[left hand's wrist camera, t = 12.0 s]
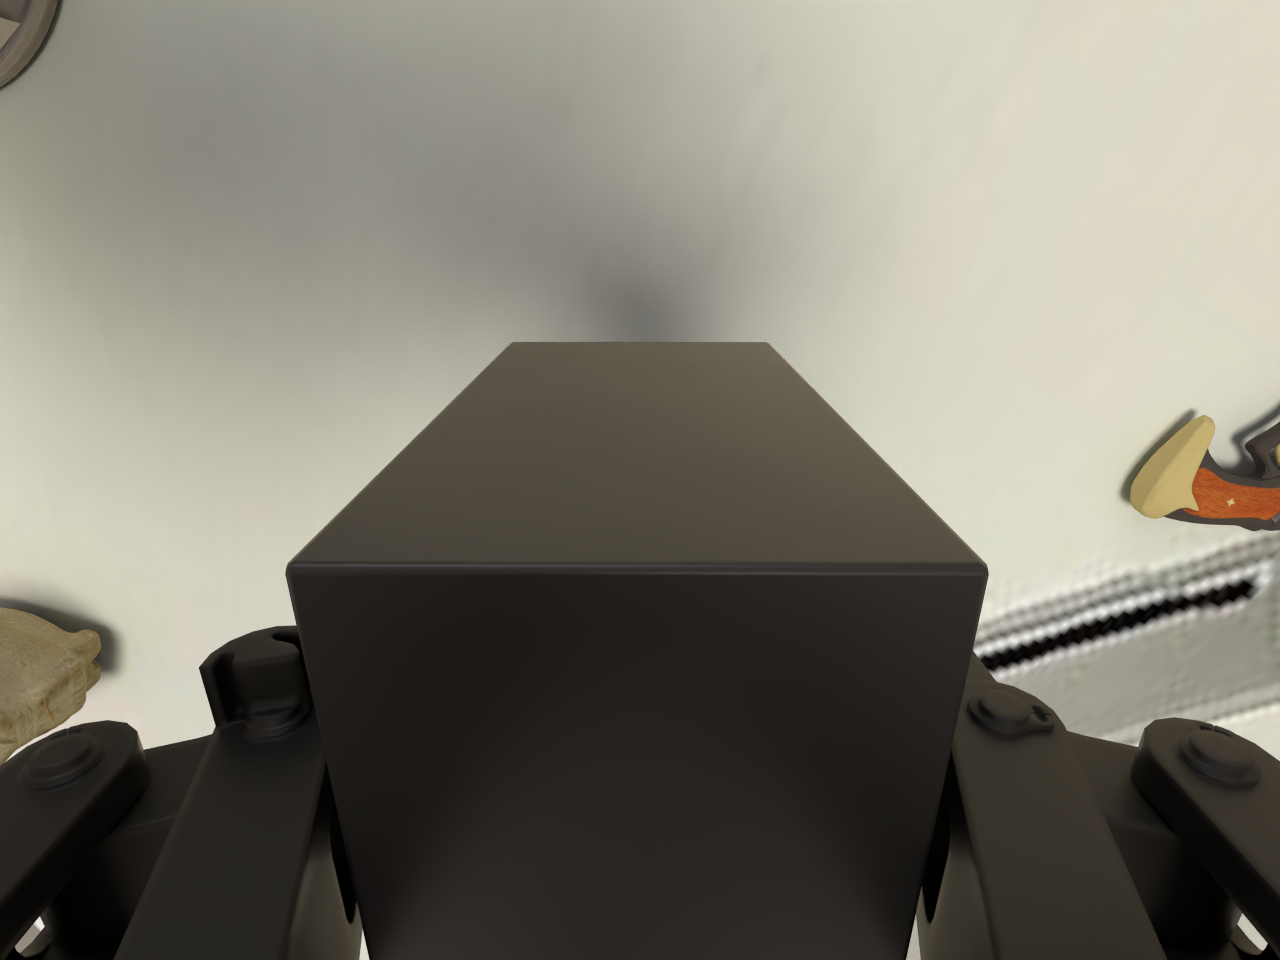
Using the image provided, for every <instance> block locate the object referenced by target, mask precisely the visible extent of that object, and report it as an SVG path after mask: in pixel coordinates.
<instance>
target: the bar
mask: <svg viewBox="0 0 1280 960" xmlns="http://www.w3.org/2000/svg"><path fill="white" fill-rule="evenodd" d="M988 576H989V574H988V568H987V565H986V563H985V562H984V561H983V560H982V559H981V558H980V557H979V556H978V555H977V554H976V553H975V552H974V551H973V550H972V549H971V548H970V547H969V546H968V545H967V544H966V543H965V542H964V541H963V540H962V539H961V538H960V537H959V536H958V535H957V534H956V533H955V532H954V531H953V530H952V529H951V528H950V527H949V526H948V525H947V524H946V523H945V522H944V521H943V520H942V519H941V518H940V517H939V516H938V515H937V514H936V513H935V512H934V511H933V510H932V509H931V508H930V507H929V506H928V505H927V504H926V503H925V501H924V500H923V499H922V498H921V497H920V496H919V495H918V494H917V493H916V492H915V491H914V490H913V489H912V488H911V487H910V486H909V485H908V484H907V483H906V482H905V481H904V480H903V479H902V478H901V477H900V476H899V475H898V474H897V473H896V472H895V471H894V470H893V469H892V468H891V467H890V466H889V465H888V464H887V463H886V462H885V461H884V460H883V459H882V458H881V457H880V456H879V455H878V454H877V453H876V452H875V451H874V450H873V449H872V448H871V447H870V446H869V445H868V444H867V443H866V442H865V441H864V440H863V439H862V438H861V437H860V436H859V435H858V434H857V433H856V432H855V431H854V430H853V428H852V427H851V426H850V425H849V424H848V423H847V422H846V421H845V420H844V419H843V418H842V417H841V416H840V415H839V414H838V413H837V412H836V411H835V410H834V409H833V408H832V407H831V406H830V405H829V404H828V403H827V402H826V401H825V400H824V399H823V398H822V397H821V396H820V395H819V394H818V393H817V392H816V391H815V390H814V389H813V388H812V387H811V386H810V385H809V384H808V383H807V382H806V381H805V380H804V379H803V378H802V377H801V376H800V375H799V374H798V373H797V372H796V371H795V370H794V369H793V368H792V367H791V366H790V365H789V364H788V363H787V362H786V361H785V360H784V359H783V358H782V357H781V355H780V354H779V353H778V352H777V351H776V350H775V349H774V348H773V347H772V346H771V345H770V344H769V343H766V342H513V343H511V344H510V345H509V346H508V347H507V348H506V349H505V350H504V351H503V352H502V353H501V354H500V355H499V356H498V357H497V358H496V359H495V360H493V361H492V362H491V363H490V364H489V365H488V366H487V367H486V368H485V369H484V370H483V371H482V372H481V373H480V374H479V375H478V376H477V377H476V378H475V379H474V380H473V381H472V382H471V383H470V384H469V385H468V386H467V387H466V388H465V389H464V390H463V391H462V392H461V393H460V394H459V395H458V396H457V397H456V398H455V399H454V400H453V401H452V402H451V403H450V404H449V405H448V406H447V407H446V408H445V409H444V410H443V411H442V412H441V413H440V414H439V415H438V416H437V417H436V418H435V419H434V420H433V421H432V422H431V423H430V424H429V425H428V426H427V427H426V428H425V429H424V430H423V431H422V432H421V433H419V434H418V435H417V436H416V437H415V438H414V439H413V440H412V441H411V442H410V443H409V444H408V445H407V446H406V447H405V448H404V449H403V450H402V451H401V452H400V453H399V454H398V455H397V456H396V457H395V458H394V459H393V460H392V461H391V462H390V463H389V464H388V465H387V466H386V467H385V468H384V469H383V470H382V471H381V472H380V473H379V474H378V475H377V476H376V477H375V478H374V479H373V480H372V481H371V482H370V483H369V484H368V485H367V486H366V487H365V488H364V489H363V490H362V491H361V492H360V493H359V494H358V495H357V496H356V497H355V498H354V499H353V500H352V501H351V502H350V503H349V504H348V505H346V506H345V507H344V508H343V509H342V510H341V511H340V512H339V513H338V514H337V515H336V516H335V517H334V518H333V519H332V520H331V521H330V522H329V523H328V524H327V525H326V526H325V527H324V528H323V529H322V530H321V531H320V532H319V533H318V534H317V535H316V536H315V537H314V538H313V539H312V540H311V541H310V542H309V543H308V544H307V545H306V546H305V547H304V548H303V549H302V550H301V551H300V552H299V553H298V554H297V555H296V556H295V557H294V558H293V559H292V560H291V561H290V562H289V563H288V564H287V568H286V579H287V583H288V588H289V593H290V597H291V602H292V606H293V611H294V615H295V620H296V625H297V629H298V634H299V638H300V643H301V648H302V652H303V657H304V661H305V666H306V670H307V675H308V680H309V684H310V689H311V693H312V698H313V703H314V707H315V712H316V716H317V721H318V726H319V730H320V735H321V739H322V744H323V748H324V753H325V758H326V762H327V767H328V771H329V776H330V781H331V785H332V790H333V794H334V799H335V804H336V808H337V813H338V817H339V822H340V826H341V831H342V836H343V840H344V845H345V849H346V854H347V859H348V863H349V868H350V872H351V877H352V882H353V886H354V891H355V895H356V900H357V904H358V909H359V914H360V918H361V923H362V927H363V932H364V937H365V941H366V946H367V950H368V955H369V959H370V960H906V957H907V952H908V948H909V943H910V938H911V934H912V929H913V924H914V920H915V915H916V910H917V906H918V901H919V896H920V892H921V887H922V882H923V878H924V873H925V868H926V864H927V859H928V855H929V850H930V845H931V841H932V836H933V831H934V827H935V822H936V817H937V813H938V808H939V803H940V799H941V794H942V789H943V785H944V780H945V775H946V771H947V766H948V762H949V757H950V752H951V748H952V743H953V738H954V734H955V729H956V724H957V720H958V715H959V710H960V706H961V701H962V696H963V692H964V687H965V683H966V678H967V673H968V669H969V664H970V659H971V655H972V650H973V645H974V641H975V636H976V631H977V627H978V622H979V617H980V613H981V608H982V603H983V599H984V594H985V590H986V585H987V580H988Z"/></svg>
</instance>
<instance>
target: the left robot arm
mask: <svg viewBox="0 0 1280 960" xmlns="http://www.w3.org/2000/svg"><path fill="white" fill-rule="evenodd" d="M57 2H58V0H0V87H1V86H3V85H4V84H6V83H7V82H8V81H10V80H11V79H12V78H13V77H15V76H16V75H17V74H18V73H19V72H20V71H21V70H22V69H23V68H24V67H25V66H26V65H27V64H28V62H29V61H30V60H31V59H32V57H33V56H34V54H35V53H36V51H37V50H38V49H39V47H40V45H41V43H42V41H43V40H44V38H45V36H46V34H47V32H48V29H49V27H50V24H51V22H52V19H53V17H54V13H55V10H56V6H57ZM199 670H200V673H201V677H202V680H203V684H204V687H205V690H206V694H207V697H208V701H209V704H210V708H211V711H212V715H213V718H214V721H215V725H216V727H215V729H214V732H213V734H211V735H208V736H204V737H200V738H197V739H192V740H187V741H183V742H178V743H173V744H169V745H164V746H159V747H155V748H150V749H146V750H143V747H142V744H141V741H140V738H139V735H138V733H137V731H136V730H135V729H134V728H132V727H131V726H130V725H129V724H127V723H124V722H116V721H109V720H106V721H99V722H92V723H84V724H80V725H77V726H73V727H70V728H68V729H63V730H60V731H58V732H55V733H52V734H51V735H49V736H47V737H45V738H43V739H41V740H39V741H37V742H35V743H33V744H31V745H29V746H27V747H26V748H24V749H23V750H22V751H20V752H19V753H17V754H16V755H15V756H13V757H12V758H10V759H9V760H8V761H6V762H5V763H4V764H2V765H1V766H0V960H359V956H360V947H361V938H362V929H363V927H362V923H361V918H360V914H359V909H358V904H357V900H356V895H355V891H354V886H353V882H352V877H351V872H350V868H349V863H348V859H347V854H346V849H345V845H344V840H343V836H342V831H341V826H340V822H339V817H338V813H337V808H336V804H335V799H334V794H333V790H332V785H331V781H330V776H329V771H328V767H327V762H326V758H325V753H324V748H323V744H322V739H321V735H320V730H319V726H318V721H317V716H316V712H315V707H314V703H313V698H312V693H311V689H310V684H309V680H308V675H307V670H306V666H305V661H304V657H303V652H302V648H301V643H300V638H299V634H298V629H297V626H276V627H271V628H267V629H263V630H258V631H254V632H251V633H248V634H246V635H244V636H241V637H239V638H236V639H234V640H231V641H229V642H228V643H226V644H225V645H223V646H222V647H220V648H219V649H217V650H216V651H214V652H213V653H211V654H210V655H209V656H208V657H207V659H206V660H205V661H204V662H203V663H202V664H201V666H200V667H199ZM1242 913H1243V914H1244V915H1245V916H1246V918H1247V919H1248V920H1249V921H1250V922H1251V924H1252V925H1253V926H1254V927H1255V928H1256V930H1257V931H1258V932H1259V933H1260V934H1261V936H1262V937H1263V938H1264V939H1265V940H1266V942H1267V943H1268V944H1267V946H1266V948H1265V949H1264V950H1263V951H1262V950H1260V949H1259V948H1258V947H1257V946H1256V945H1255V944H1254V943H1253V942H1252V941H1251V940H1250V939H1249V938H1248V937H1247V936H1246V935H1245V933H1244V932H1243V931H1242V930H1241V928H1240V927H1239V926H1238V925H1237V923H1238V921H1239V919H1240V917H1241V915H1242ZM39 916H40V917H41V919H42V922H43V924H44V926H45V927H44V928H43V930H42V931H41V932H40V933H39V935H38V936H37V937H36V938H35V939H34V941H33V942H32V943H31V944H30V945H28V946H27V947H26V948H25V949H24V950H23V951H22V952H21V953H19V952H17V951H16V949H15V945H16V944H17V943H18V942H19V940H20V939H21V938H22V937H23V936H24V934H25V933H26V932H27V931H28V930H29V928H30V927H31V926H32V925H33V924H34V922H35V921H36V920H37V919H38V917H39ZM916 918H917V927H918V936H919V945H920V954H921V960H1280V761H1279V760H1277V759H1276V758H1274V757H1273V756H1272V755H1270V754H1269V753H1267V752H1266V751H1265V750H1263V749H1262V748H1260V747H1259V746H1258V745H1256V744H1255V743H1253V742H1251V741H1249V740H1247V739H1245V738H1243V737H1241V736H1239V735H1237V734H1235V733H1233V732H1231V731H1229V730H1227V729H1224V728H1221V727H1219V726H1214V725H1212V724H1209V723H1205V722H1201V721H1197V720H1189V719H1182V718H1175V717H1174V718H1166V719H1159V720H1154V721H1153V722H1152V723H1151V724H1149V725H1148V726H1147V727H1146V728H1145V729H1144V732H1143V734H1142V737H1141V740H1140V743H1139V746H1138V747H1135V746H1130V745H1125V744H1121V743H1116V742H1112V741H1107V740H1102V739H1098V738H1093V737H1088V736H1084V735H1080V734H1076V733H1073V732H1069V731H1067V730H1066V728H1065V726H1064V724H1063V723H1062V722H1061V720H1060V719H1059V717H1058V716H1057V715H1056V713H1055V712H1054V711H1053V710H1052V709H1051V708H1050V707H1048V706H1047V705H1046V704H1044V703H1043V702H1042V701H1040V700H1039V699H1038V698H1036V697H1035V696H1033V695H1031V694H1029V693H1026V692H1024V691H1022V690H1020V689H1018V688H1016V687H1014V686H1010V685H1006V684H1002V683H998V682H996V681H995V679H994V678H993V677H992V675H991V674H990V673H989V671H988V670H987V669H986V667H985V666H984V665H983V663H982V662H981V661H980V659H979V658H978V657H977V656H976V654H975V653H974V652H973V650H972V655H971V659H970V664H969V669H968V673H967V678H966V683H965V687H964V692H963V696H962V701H961V706H960V710H959V715H958V720H957V724H956V729H955V734H954V738H953V743H952V748H951V752H950V757H949V762H948V766H947V771H946V775H945V780H944V785H943V789H942V794H941V799H940V803H939V808H938V813H937V817H936V822H935V827H934V831H933V836H932V841H931V845H930V850H929V855H928V859H927V864H926V868H925V873H924V878H923V882H922V887H921V892H920V896H919V901H918V906H917V910H916Z"/></svg>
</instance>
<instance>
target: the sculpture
mask: <svg viewBox="0 0 1280 960" xmlns="http://www.w3.org/2000/svg"><path fill="white" fill-rule="evenodd" d="M100 650H101V642H100V637H99V634H98V633H97V632H95V631H92V630H87V629H83V630H80V631H78V632H76V633H70V632H66V631H64V630H62V629H60V628H59V627H57V626H56V625H54V624H52V623H50V622H48V621H46V620H44V619H42V618H40V617H38V616H36V615H33V614H31V613H28V612H24V611H21V610H15V609H9V608H0V766H1V765H2V764H3V763H4V762H5V761H6V760H7V759H8V758H9V757H10V756H11V755H12V753H13V752H14V751H16V750H17V749H18V748H20V747H22V746H24V745H25V744H27V743H28V742H30V741H31V740H33V739H34V738H36V737H39V736H41V735H43V734H45V733H47V732H49V731H50V730H52V729H54V728H56V727H57V726H59V725H61V724H62V723H64V722H65V721H66V720H67V719H68V718H69V717H70V716H72V715H73V714H75V713H76V712H78V711H79V710H80V709H81V708H82V707H83V705H84V703H85V700H86V692H87V691H88V690H89V689H91V688H92V687H93V686H94V685H95V684H96V683H97V682H98V681H99V679H100V674H101V666H100V664H99V663H98V662H97V661H96V660H94V659H95V657H96V656H97V655H98V654H99V652H100Z"/></svg>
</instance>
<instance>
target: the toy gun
mask: <svg viewBox="0 0 1280 960" xmlns="http://www.w3.org/2000/svg"><path fill="white" fill-rule="evenodd" d="M1214 431H1215V425H1214V422H1213V420H1212V418H1210V417H1208V416H1206V415H1203V416H1200V417H1198V418H1196V419H1193V420H1191V421H1190V422H1189V423H1187V424H1186V425H1185V426H1184V427H1183V428H1181V429H1180V430H1179V431H1178V432H1177V433H1176V434H1175V435H1173V436H1172V437H1171V438H1170V439H1169V440H1168V441H1167V442H1166V443H1165V444H1164V445H1163V446H1162V447H1161V448H1160V449H1158V450H1157V451H1156V452H1155V453H1154V454H1153V456H1152V457H1151V458H1150V459H1149V460H1148V461H1147V462H1146V464H1145V465H1144V466H1143V468H1142V469H1141V470H1140V472H1139V473H1138V475H1137V476H1136V478H1135V480H1134V482H1133V484H1132V486H1131V492H1130V501H1131V504H1132V506H1133V508H1134V509H1136V510H1137V511H1138V512H1140V513H1141V514H1142V515H1144V516H1146V517H1149V518H1160V517H1163V516H1164V517H1167V518H1171V519H1175V520H1179V521H1185V522H1191V523H1200V524H1213V525H1236V526H1241V527H1243V528H1245V529H1248V530H1251V531H1257V530H1260V529H1264V530H1268V531H1275V530H1280V422H1279V423H1277V424H1276V425H1275V426H1273V427H1272V428H1270V429H1269V430H1267V431H1265V432H1263V433H1262V434H1260V435H1258V436H1256V437H1255V438H1253V439H1251V440H1250V441H1248V442H1247V443H1246V445H1245V448H1246V450H1247V451H1248V452H1249V453H1250V455H1251V456H1252V457H1253V459H1254V461H1255V463H1256V471H1255V473H1254V474H1253V475H1251V476H1240V475H1235V474H1230V473H1226V472H1225V471H1223V470H1222V469H1221V468H1220V467H1219V466H1218V465H1217V464H1216V463H1215V461H1214V460H1213V458H1212V457H1211V455H1210V454H1209V451H1208V446H1209V444H1210V442H1211V439H1212V437H1213V435H1214ZM1273 447H1274V454H1275V459H1276V461H1277V463H1278V465H1279V467H1276V466H1274V464H1273V463H1272V461H1271V458H1270V453H1269V451H1270V449H1271V448H1273Z"/></svg>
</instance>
